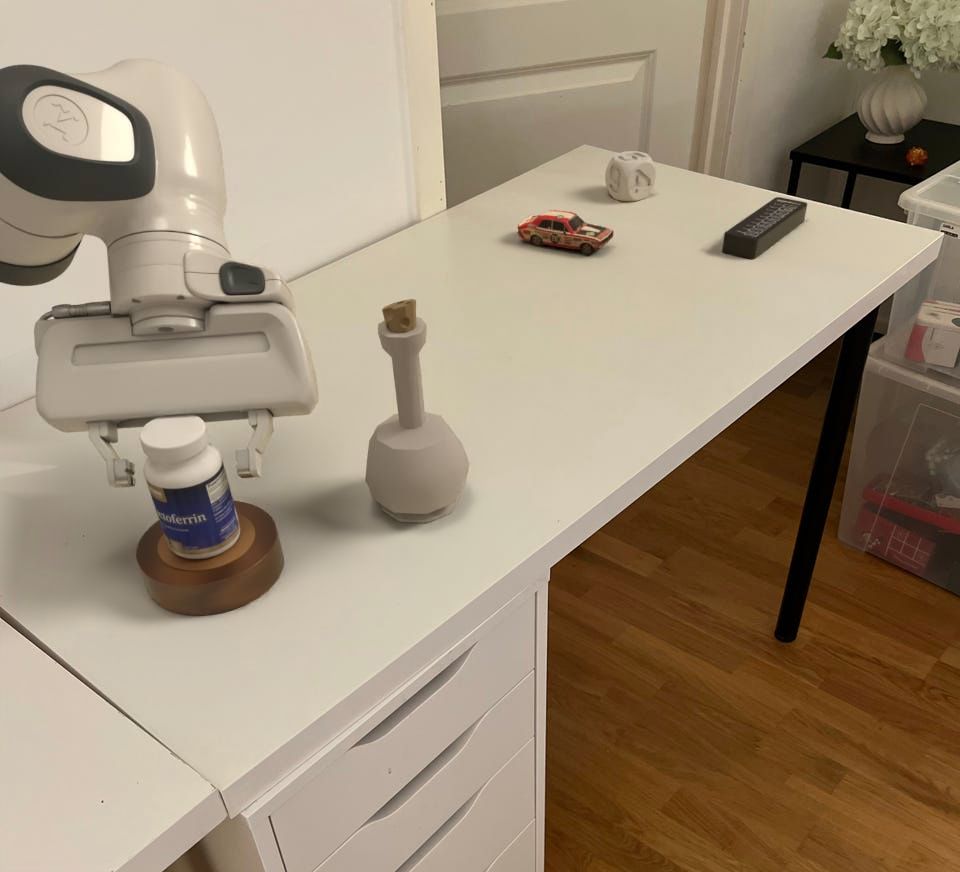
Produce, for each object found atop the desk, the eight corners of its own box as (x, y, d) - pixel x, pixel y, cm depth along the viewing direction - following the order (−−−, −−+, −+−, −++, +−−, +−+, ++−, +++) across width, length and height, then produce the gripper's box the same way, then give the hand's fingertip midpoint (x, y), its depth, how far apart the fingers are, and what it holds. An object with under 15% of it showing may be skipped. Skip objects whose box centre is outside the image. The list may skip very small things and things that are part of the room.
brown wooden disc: (148, 628, 73) (136, 597, 71) (144, 544, 81) (134, 514, 79) (292, 598, 75) (285, 567, 73) (275, 518, 83) (268, 488, 81)
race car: (539, 242, 128) (534, 205, 125) (618, 244, 121) (614, 205, 118) (518, 255, 125) (512, 218, 122) (597, 258, 118) (593, 219, 115)
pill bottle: (155, 557, 75) (116, 446, 68) (188, 514, 79) (154, 405, 72) (223, 566, 73) (190, 454, 67) (253, 521, 77) (225, 411, 71)
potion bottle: (414, 543, 79) (390, 337, 67) (350, 499, 84) (316, 300, 72) (492, 498, 83) (483, 296, 71) (426, 459, 88) (406, 264, 76)
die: (655, 196, 133) (657, 157, 130) (626, 204, 132) (628, 165, 128) (632, 186, 137) (634, 148, 133) (603, 194, 135) (605, 156, 131)
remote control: (720, 252, 119) (722, 233, 117) (773, 214, 127) (776, 196, 125) (753, 259, 117) (756, 240, 115) (805, 220, 125) (808, 202, 123)
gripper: (12, 290, 69) (25, 483, 68) (300, 269, 69) (315, 462, 68) (51, 322, 75) (63, 499, 74) (314, 302, 75) (328, 479, 75)
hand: (186, 481), depth 71 cm, fingers open, 8 cm apart
